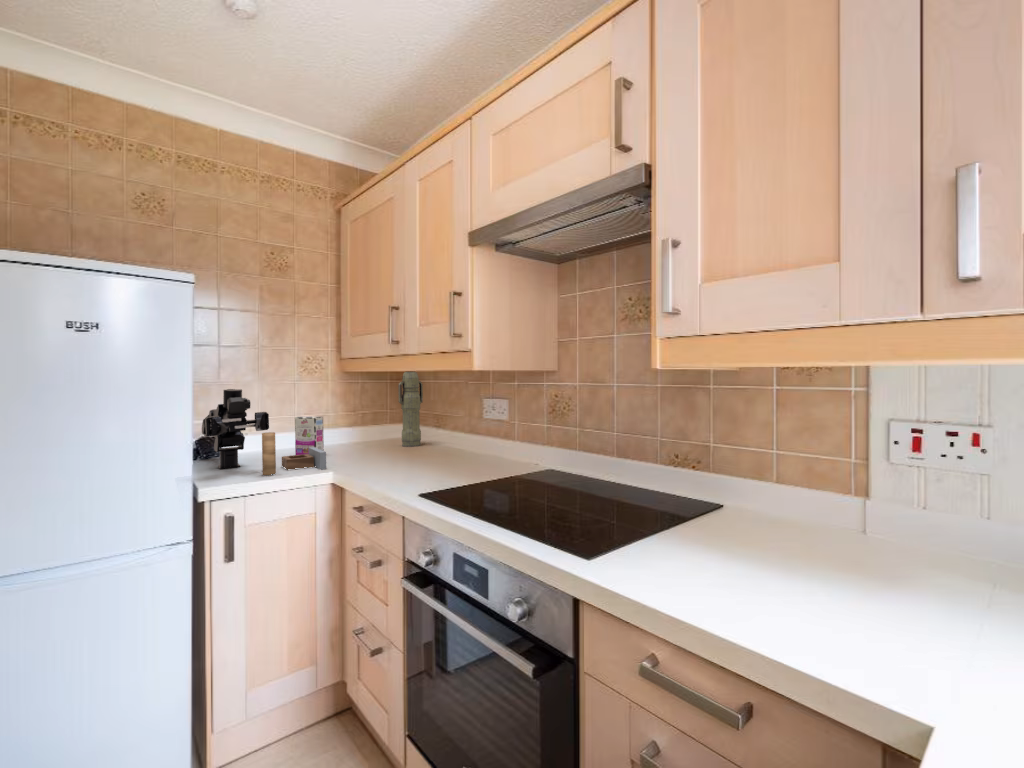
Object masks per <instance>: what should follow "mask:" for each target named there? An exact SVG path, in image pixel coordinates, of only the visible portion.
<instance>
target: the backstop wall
mask: <svg viewBox="0 0 1024 768" xmlns="http://www.w3.org/2000/svg"><path fill="white" fill-rule="evenodd" d="M309 455H311V456H313V457H314V467H315V466H316V467H317V468H316V467H315V468H316V469H318V468H319V470H320V469H321V470H327V452H326V451H325V450H324V451H322V450H320V449H317V448H315V447H310V448H309Z"/></svg>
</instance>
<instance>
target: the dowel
mask: <svg viewBox="0 0 1024 768" xmlns="http://www.w3.org/2000/svg"><path fill="white" fill-rule="evenodd" d="M261 451H262V452H261V453H262V454H261V455H262V456H261V458H262V459H261V460H262V461H261V462H262V464H261V465H262V467H261V468H262V476H263V475H270V476H272V475H271V474H275V473H276V474H277V460H276V458H277V457H276V452H277V451H276V432H274V431H271V432H270V431H269V432H267V431H266V432H262V433H261ZM276 474H275V475H276Z"/></svg>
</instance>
